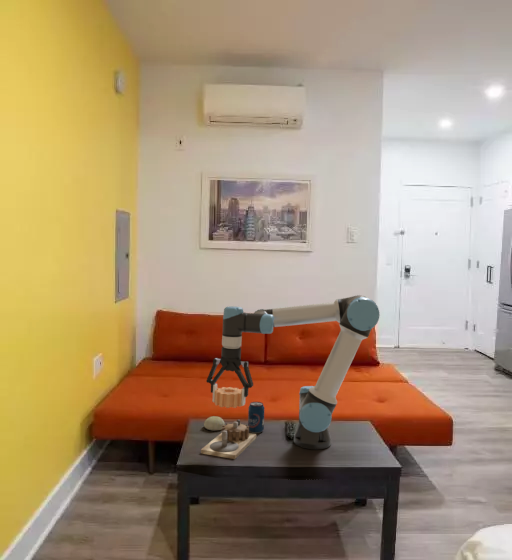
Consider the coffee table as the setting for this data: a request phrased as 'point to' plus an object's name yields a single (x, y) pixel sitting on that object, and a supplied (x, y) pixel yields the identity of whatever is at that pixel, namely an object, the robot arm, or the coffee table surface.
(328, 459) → the coffee table surface
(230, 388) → the loose gear
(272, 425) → the coffee table surface
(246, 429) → the gear board
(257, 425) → the soda can
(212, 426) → the sea urchin shell
